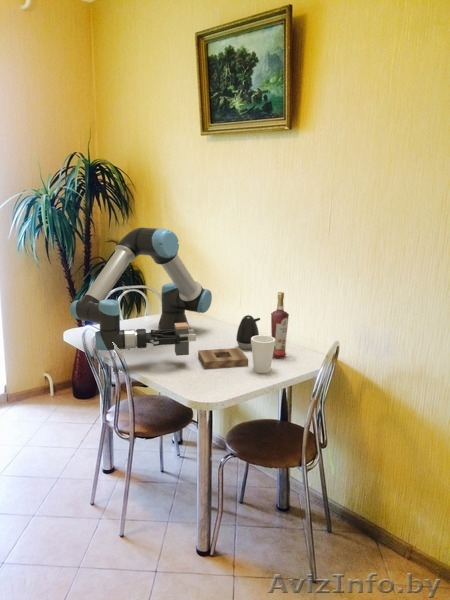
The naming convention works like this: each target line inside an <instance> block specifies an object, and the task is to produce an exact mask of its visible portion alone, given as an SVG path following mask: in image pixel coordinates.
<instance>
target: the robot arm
mask: <svg viewBox="0 0 450 600" xmlns="http://www.w3.org/2000/svg"><path fill="white" fill-rule="evenodd" d="M179 248H180V243H179V238H178V236H177V234H176V233H175V232H174V231H172V230H170V229H166V228H154V227H153V228H152V227H137V228H134V229H132V230H131V231H129V232H128V233H126V234H125V235H124V236H123V237H122V238H121V239H120V241H119V242H118V243H117V244H116V246H115V248H114V250H115V251H114V253H113V254H112V256H110V258H109V260H108V261H107V263H106V264H105V266H104V267H103V268H102V269H101V271H100V273H99V274H98V275H97V277H96V278H95V280H94V281H93V283H92V284H91V286H90V287H89V288H88V290H87V291H86V293H85V294H84V296H83V297H82V298H81V299H75V300H74V301H72V303H71V304H70V307H69V313H70V316H72V317H73V318H74V319H76V320H80V321H86V322H91V323H96V324H99V330H97V331H95V332H94V333H95V334H94V339H95V340H94V341H95V342H94V343H95V349H96V350H97V351H108V352H109V351H115V350H114V345H113V343H112V342H114V343H115V344H116V345H117V347H118V348H119V349H118V350H128V351H129V350H131V349H136V348H137V349H145V348H147V345H148V344H151V345H153V346H154V347H157V346H169V345H175V344H180V342H187V341H189V342H197V333H194V332H195V331H194V329H189V334H185V335H179V336H175V328H174V323H187V324H188V325H189V322H188V318H187V315H186V311H189V312H195V313H199V314H200V313H202V314H203V313H207V311H208V310H210V308H211V305H212V302H213V299H212V298H213V296H212V291H211V290H209V289H207V288H203V286H202V284H200V283H199V281H196V280H194V278H193V277H192V275H191V273H190V271H189V270H188V269H187V267H186V265H185V263H183V261H182V259H181V258H180V256H179V254H178V253H179ZM141 255H142V256H149V257H151V259H152V261H153V262H154V263H155V264H157V265H160V266H161V267H162V268H163V271H165V273H166V274H167V275H168V277H169V278H170V280H171V281H172V282H169V283H165V284H163V285H162V286H161V292H160V293H161V315H160V318H159V321H158V329H150V332H147V329H145V328H137V329H136V330H135V328H134V329H133V328H130V329H121V325H120V324H121V323H120V322H121V321H120V320H121V318H120V314H121V313H120V306H119V302H118V301H117V300H116V299H106V298H107V297H108V296H109V294H110V293H111V291H112V290H113V288H114V286H115V285H116V284H117V282H118V281H119V279H120V278H121V276H122V274H123V273H124V272H125V271H126V269H127V267H128V266H129V264H130V263H131V262H134V261H135V260H136V259H137V257H138V256H141Z"/></svg>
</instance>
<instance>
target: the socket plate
mask: <svg viewBox="0 0 450 600" xmlns="http://www.w3.org/2000/svg"><path fill="white" fill-rule="evenodd" d="M197 352H198V353H197V355H198V356H197V357H198V360H199V362H200V363H201V365H202V367H203V369H204V370H211V369H213V370H214V369H224V368H226V369H227V368H228V369H229V368H238V367H239V368H240V367H241V368H243V367H249V358H248V357H247V355H246V354H245V353H244V352H243V351H242V348H241V347H235V348H234V347H233V348H231V347H230V348H219V349H215V348H214V349H202V350H201V349H200V350H199V349H198V351H197Z"/></svg>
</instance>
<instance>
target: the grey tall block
mask: <svg viewBox="0 0 450 600" xmlns="http://www.w3.org/2000/svg"><path fill="white" fill-rule="evenodd" d="M174 328H175V336H179V335H185V334H189V330H190V326H189V323H188V324H187V323H174ZM189 343H190V341H187V342H180V344H174V353H175V355H176V356H177V357H178V356H188V355H190V344H189Z"/></svg>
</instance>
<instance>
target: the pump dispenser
mask: <svg viewBox="0 0 450 600" xmlns="http://www.w3.org/2000/svg"><path fill="white" fill-rule="evenodd" d="M258 321H261V318H260V317H257V318H255V317H253V316H252V315H249V314H247V315H245V316H243V317H242V319H241V321H240V323H239V325H238V329H237V333H236V342H237V344H238V346H239V348H240V349H241V350H246V351H247V350H248V351H250V350H251V351H252V345H251V338H252V337H253V336H258V335H260V334H259V328H258V324H257V322H258Z"/></svg>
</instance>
